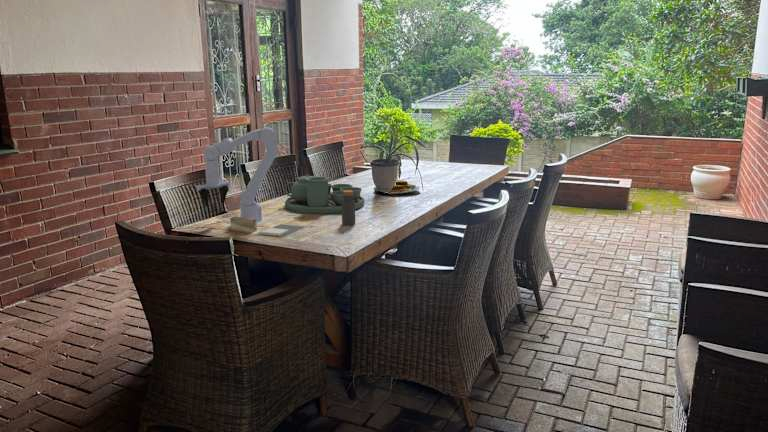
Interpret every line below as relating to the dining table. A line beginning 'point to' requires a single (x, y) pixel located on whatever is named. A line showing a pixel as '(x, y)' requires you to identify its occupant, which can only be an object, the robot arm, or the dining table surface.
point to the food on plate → (403, 188)
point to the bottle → (348, 208)
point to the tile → (274, 232)
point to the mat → (287, 227)
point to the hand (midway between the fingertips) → (214, 204)
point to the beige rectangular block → (243, 224)
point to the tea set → (319, 195)
